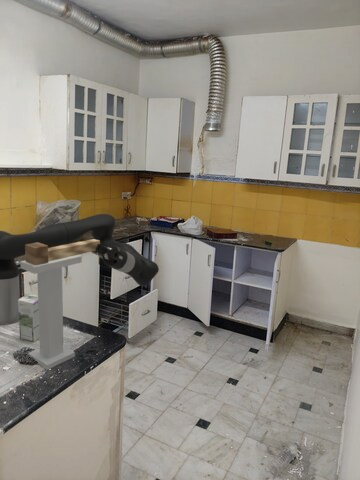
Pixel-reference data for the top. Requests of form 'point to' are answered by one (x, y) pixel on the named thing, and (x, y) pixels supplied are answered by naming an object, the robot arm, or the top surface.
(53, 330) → the stand
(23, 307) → the syrup box
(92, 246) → the mallet
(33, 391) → the top surface
